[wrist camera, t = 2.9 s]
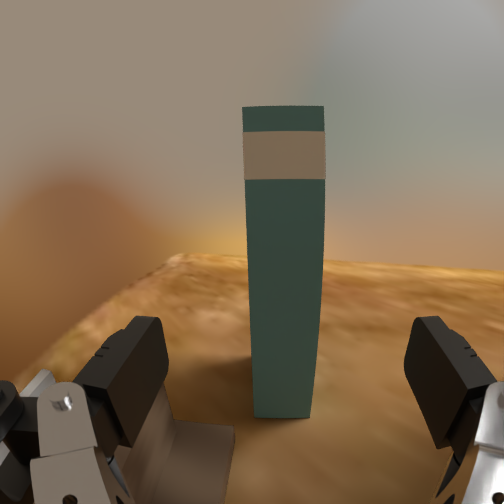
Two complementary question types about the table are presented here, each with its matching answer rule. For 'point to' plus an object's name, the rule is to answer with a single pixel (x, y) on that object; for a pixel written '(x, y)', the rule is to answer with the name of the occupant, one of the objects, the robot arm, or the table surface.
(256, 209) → the book
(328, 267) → the table surface
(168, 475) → the book rack
